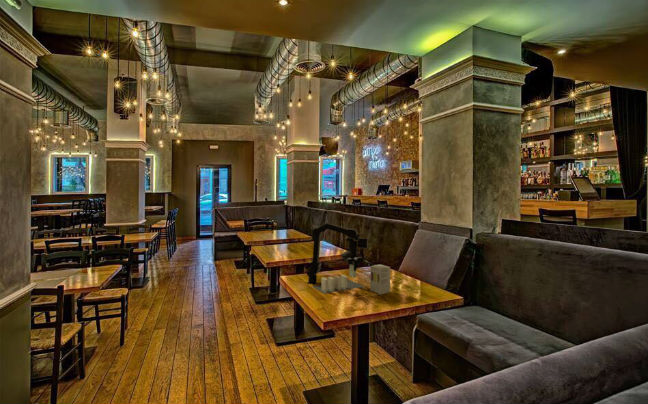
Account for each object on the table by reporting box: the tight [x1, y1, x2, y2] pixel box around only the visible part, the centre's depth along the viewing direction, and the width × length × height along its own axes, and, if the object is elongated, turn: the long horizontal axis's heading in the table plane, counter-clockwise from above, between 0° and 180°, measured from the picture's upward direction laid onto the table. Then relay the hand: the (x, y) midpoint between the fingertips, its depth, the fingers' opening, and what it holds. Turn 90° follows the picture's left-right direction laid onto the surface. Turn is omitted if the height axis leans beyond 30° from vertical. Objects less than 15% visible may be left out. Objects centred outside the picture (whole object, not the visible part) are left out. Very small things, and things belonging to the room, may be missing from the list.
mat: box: [311, 279, 366, 294], centre depth 236 cm, size 18×32×1 cm, turn 119°
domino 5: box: [348, 264, 357, 279], centre depth 236 cm, size 5×2×8 cm, turn 29°
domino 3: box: [334, 275, 341, 290], centre depth 230 cm, size 5×2×8 cm, turn 29°
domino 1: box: [320, 277, 328, 292], centre depth 225 cm, size 5×2×8 cm, turn 29°
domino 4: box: [340, 274, 348, 289], centre depth 233 cm, size 5×2×8 cm, turn 29°
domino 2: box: [327, 276, 335, 291], centre depth 228 cm, size 5×2×8 cm, turn 29°
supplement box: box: [369, 264, 391, 295], centre depth 226 cm, size 10×9×17 cm
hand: (352, 270), depth 236 cm, fingers closed on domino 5, 5 cm apart
